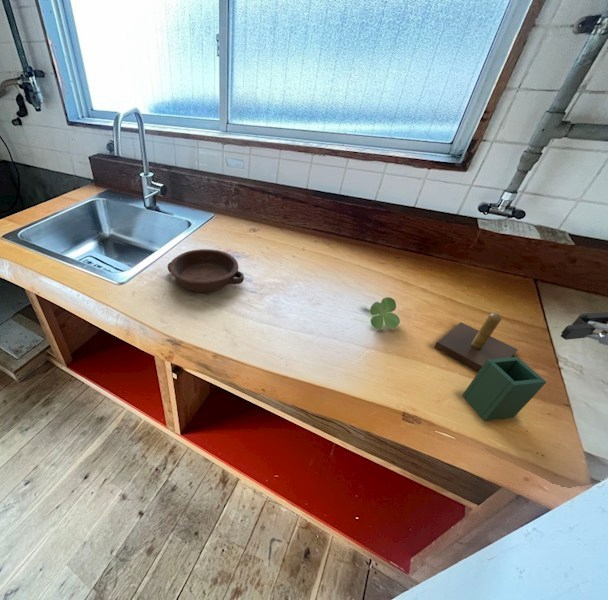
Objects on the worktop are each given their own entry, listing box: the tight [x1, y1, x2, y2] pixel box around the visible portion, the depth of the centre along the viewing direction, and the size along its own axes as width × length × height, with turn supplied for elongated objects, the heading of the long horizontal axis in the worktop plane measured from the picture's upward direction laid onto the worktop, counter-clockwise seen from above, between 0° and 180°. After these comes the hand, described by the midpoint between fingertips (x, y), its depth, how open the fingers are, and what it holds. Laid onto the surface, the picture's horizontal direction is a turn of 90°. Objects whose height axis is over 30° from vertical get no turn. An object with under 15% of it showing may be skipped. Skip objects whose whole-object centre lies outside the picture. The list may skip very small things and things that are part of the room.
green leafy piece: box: [364, 296, 401, 330], centre depth 72 cm, size 7×8×6 cm
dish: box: [166, 248, 245, 293], centre depth 86 cm, size 18×22×5 cm
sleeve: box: [461, 356, 547, 422], centre depth 51 cm, size 5×5×9 cm
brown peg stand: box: [433, 312, 519, 373], centre depth 61 cm, size 10×10×9 cm
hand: (593, 353), depth 47 cm, fingers open, 8 cm apart
